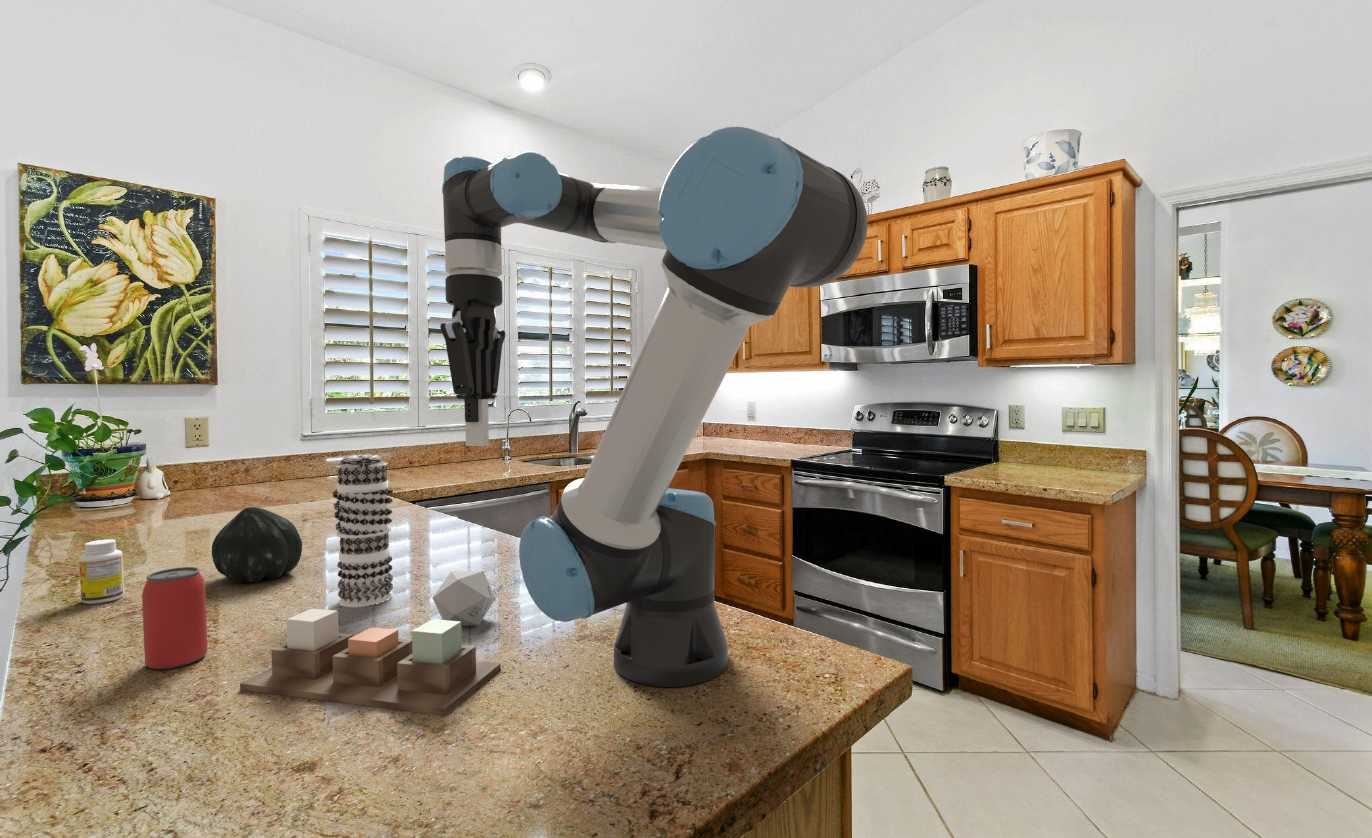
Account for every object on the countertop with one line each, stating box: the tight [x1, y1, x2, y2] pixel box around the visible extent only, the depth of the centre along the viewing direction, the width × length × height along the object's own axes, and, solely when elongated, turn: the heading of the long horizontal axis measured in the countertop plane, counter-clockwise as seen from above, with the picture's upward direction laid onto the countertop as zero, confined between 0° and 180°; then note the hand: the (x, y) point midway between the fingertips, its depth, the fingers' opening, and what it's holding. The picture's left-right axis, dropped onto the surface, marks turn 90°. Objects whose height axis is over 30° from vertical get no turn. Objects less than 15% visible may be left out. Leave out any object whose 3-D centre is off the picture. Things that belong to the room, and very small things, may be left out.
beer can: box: [141, 566, 208, 670], centre depth 85 cm, size 7×7×12 cm
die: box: [432, 570, 496, 627], centre depth 98 cm, size 8×9×10 cm
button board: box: [239, 632, 502, 717], centre depth 79 cm, size 28×12×4 cm, turn 77°
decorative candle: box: [332, 454, 394, 609], centre depth 109 cm, size 9×9×25 cm
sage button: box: [411, 618, 463, 665], centre depth 77 cm, size 4×4×4 cm
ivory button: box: [286, 608, 339, 651], centre depth 81 cm, size 4×4×4 cm
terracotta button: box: [348, 626, 400, 658], centre depth 79 cm, size 4×4×4 cm
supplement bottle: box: [78, 538, 125, 605], centre depth 110 cm, size 6×6×10 cm
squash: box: [211, 506, 303, 584], centre depth 123 cm, size 14×15×15 cm
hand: (477, 445), depth 89 cm, fingers closed
